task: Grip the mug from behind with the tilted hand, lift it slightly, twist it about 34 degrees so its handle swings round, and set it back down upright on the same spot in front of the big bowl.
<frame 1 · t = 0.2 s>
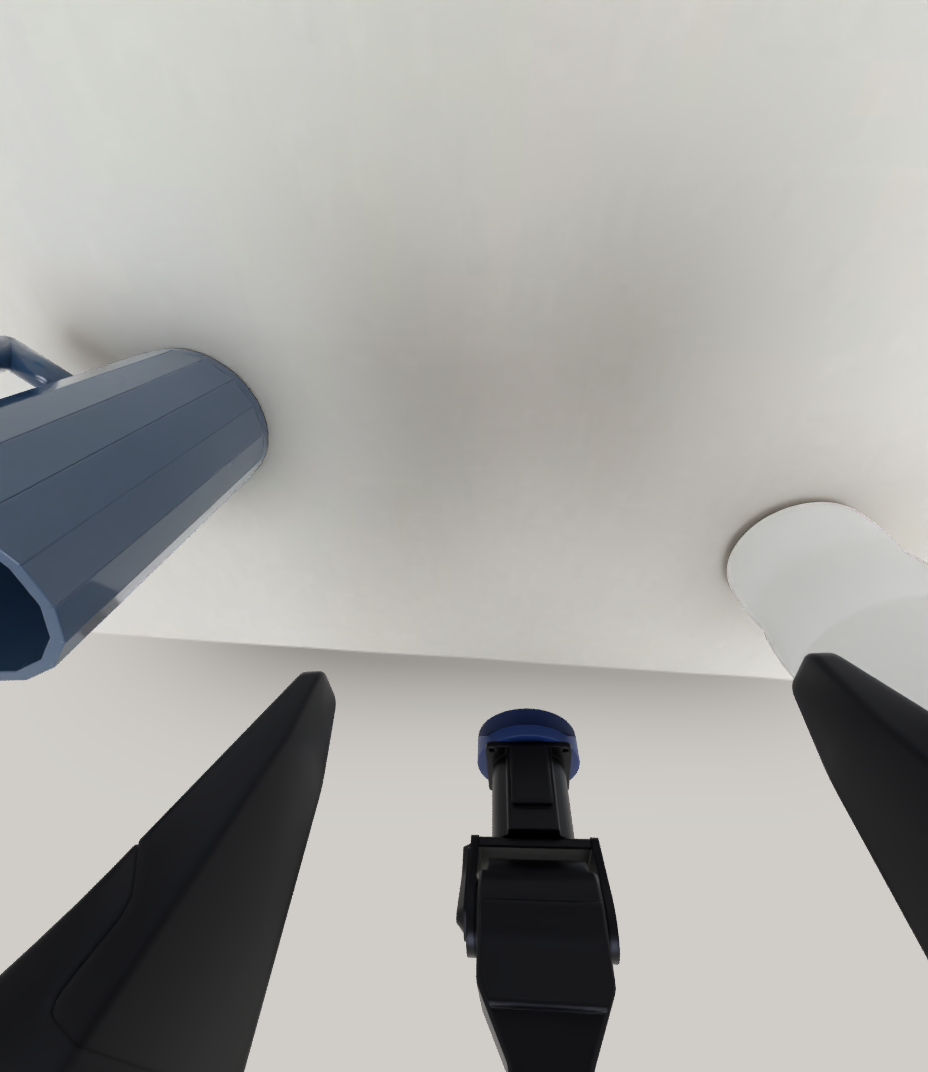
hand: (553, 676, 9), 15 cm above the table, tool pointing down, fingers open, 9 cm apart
mug: (199, 420, 22), on the table
water bottle: (788, 550, 25), on the table
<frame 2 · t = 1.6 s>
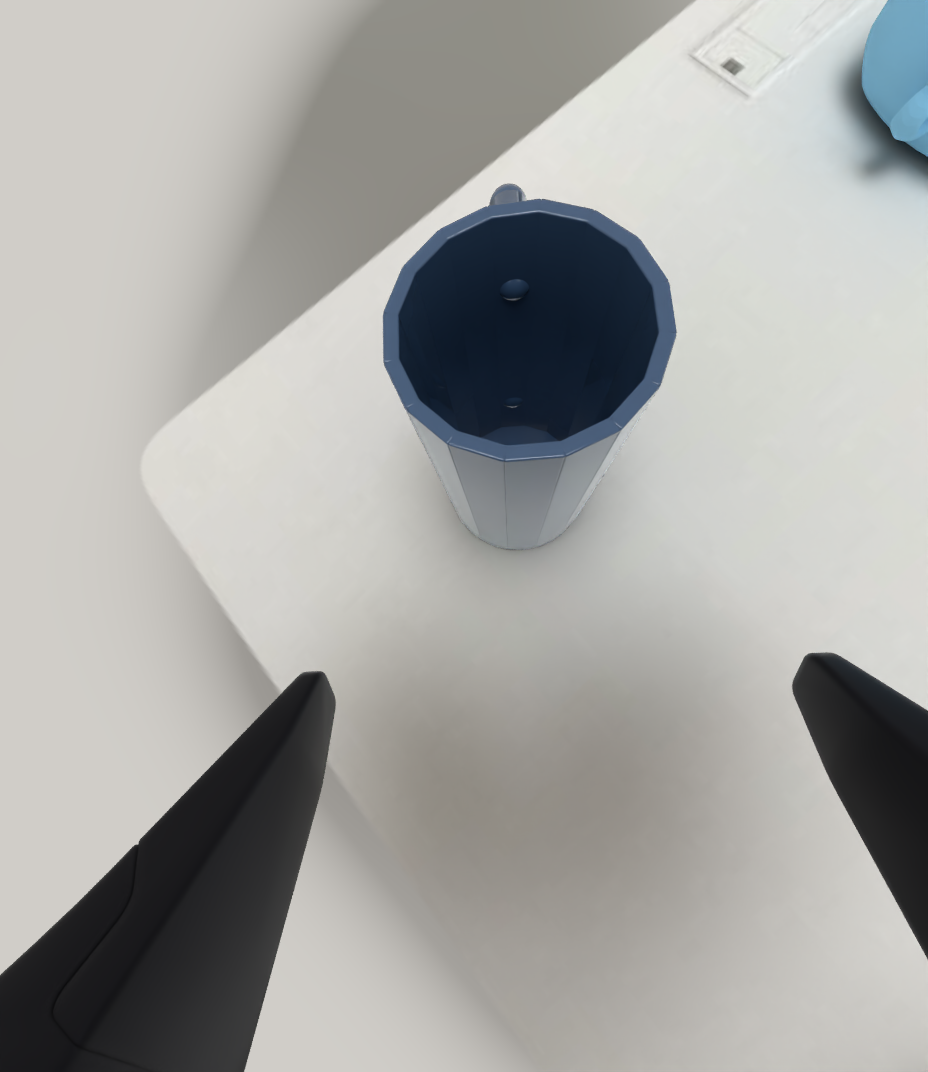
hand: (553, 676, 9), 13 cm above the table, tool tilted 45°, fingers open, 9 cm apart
mug: (516, 485, 23), on the table
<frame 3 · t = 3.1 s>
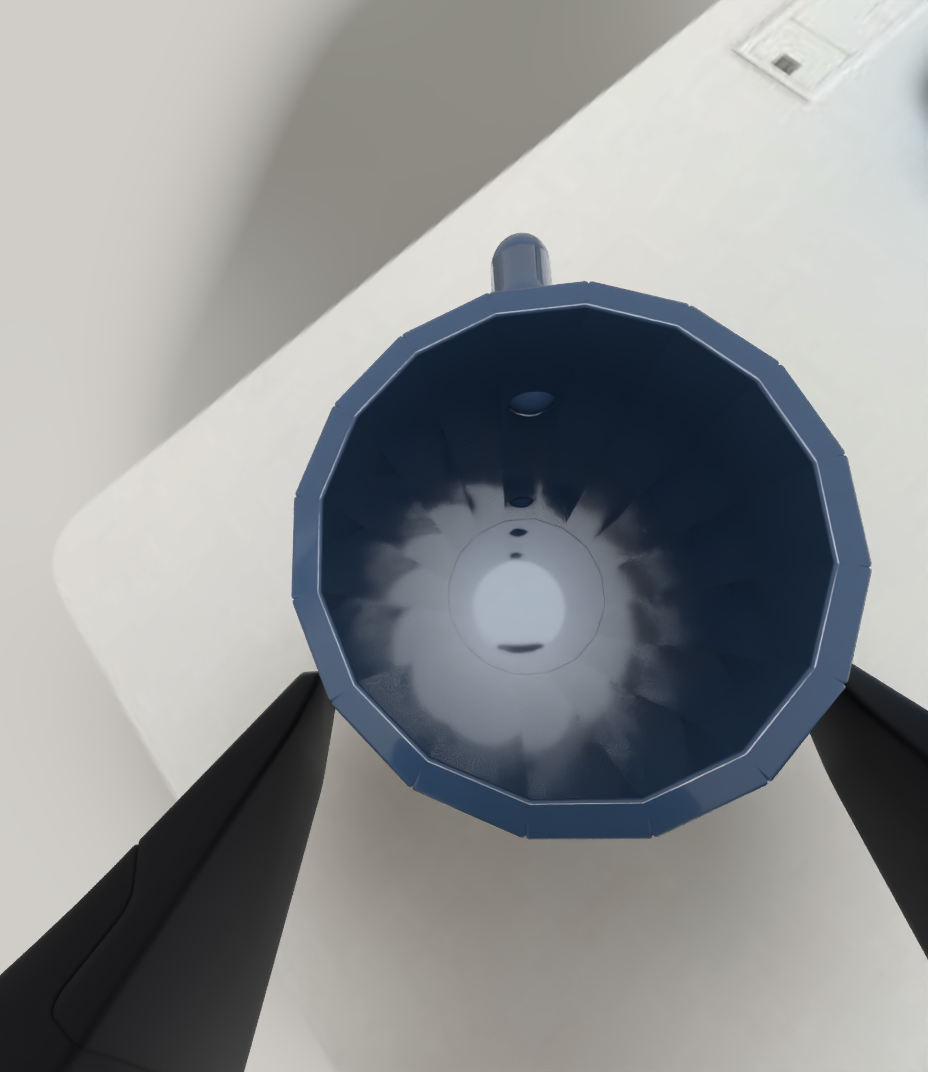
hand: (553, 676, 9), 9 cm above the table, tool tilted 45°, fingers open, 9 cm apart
mug: (524, 595, 18), on the table
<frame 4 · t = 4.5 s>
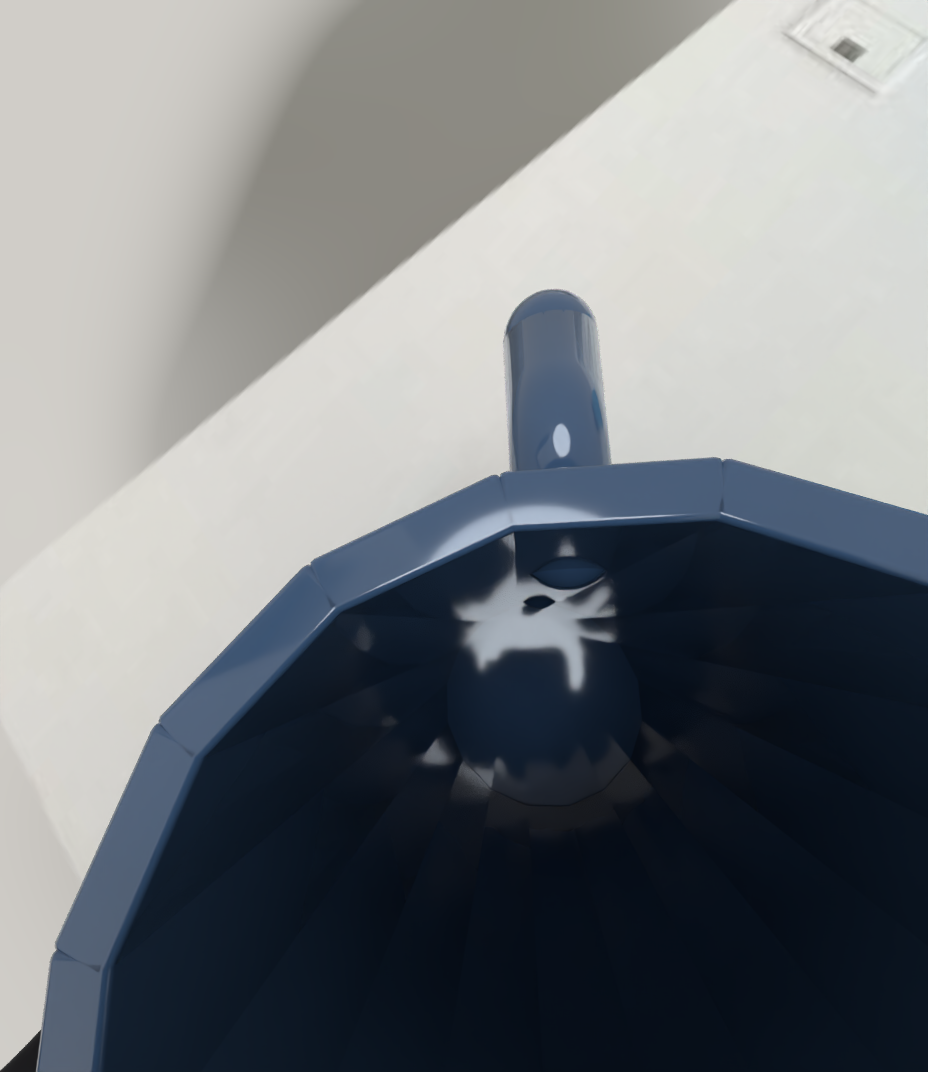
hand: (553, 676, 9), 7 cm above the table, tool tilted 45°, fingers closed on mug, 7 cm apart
mug: (540, 698, 15), on the table, touching gripper
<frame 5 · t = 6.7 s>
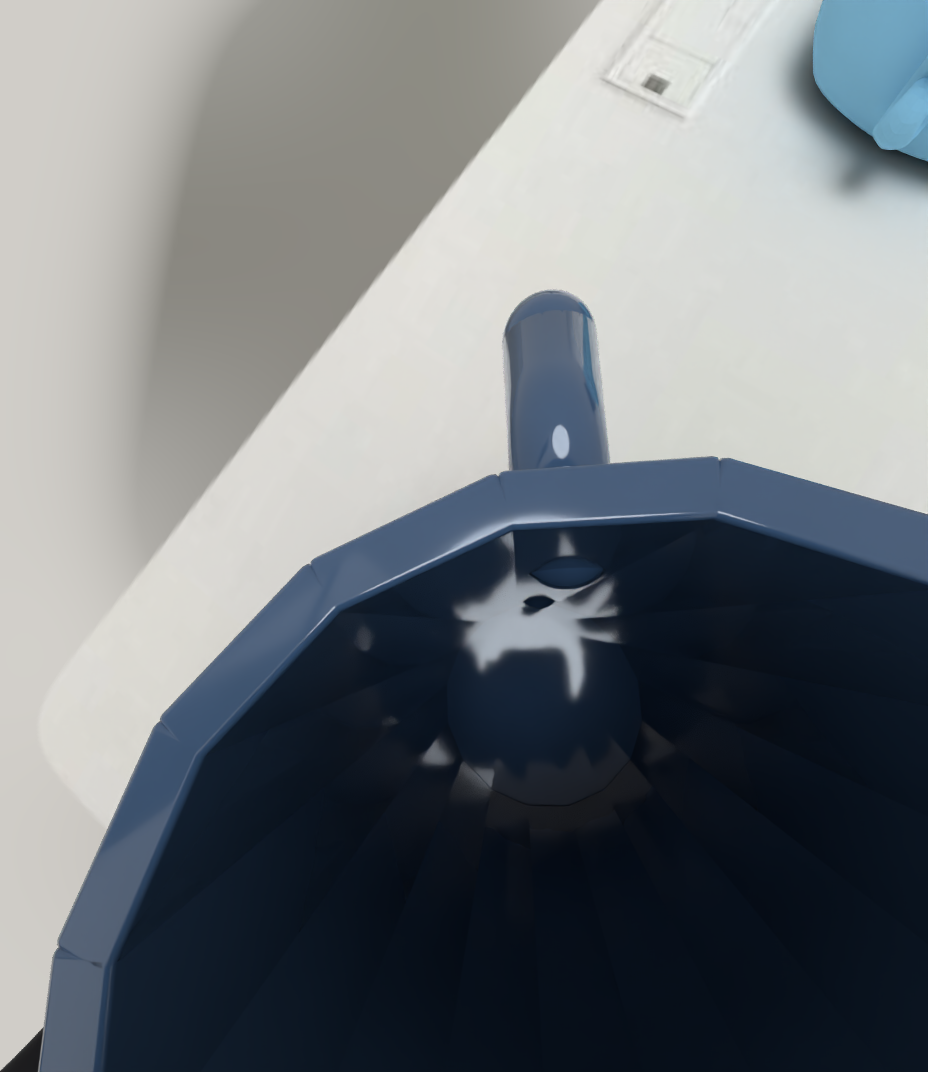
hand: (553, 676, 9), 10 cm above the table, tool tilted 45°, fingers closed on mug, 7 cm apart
mug: (540, 698, 15), point 3 cm above the table, touching gripper
when the fingers open (7 cm above the table, at t = 9.1 s): mug stays where it is, on the table.
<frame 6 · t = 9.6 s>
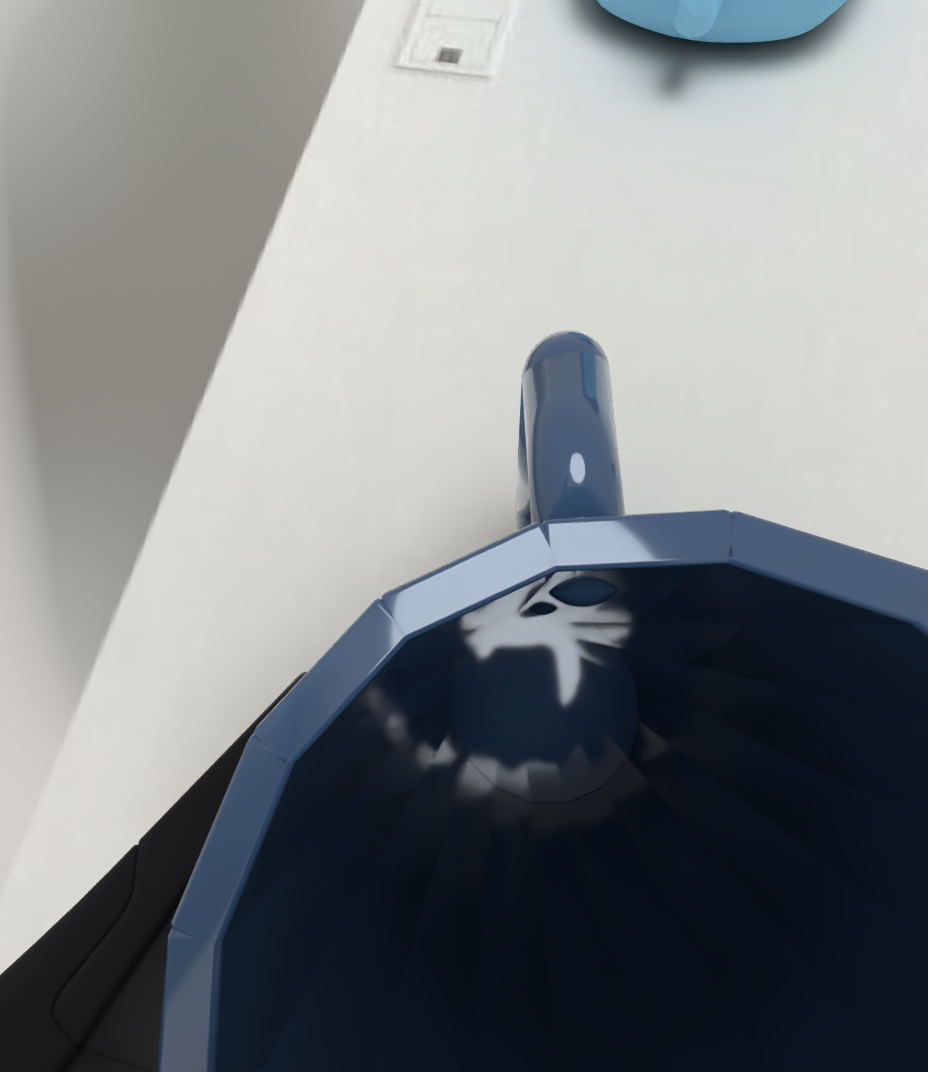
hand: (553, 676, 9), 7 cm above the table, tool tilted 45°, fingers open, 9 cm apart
mug: (541, 699, 15), on the table
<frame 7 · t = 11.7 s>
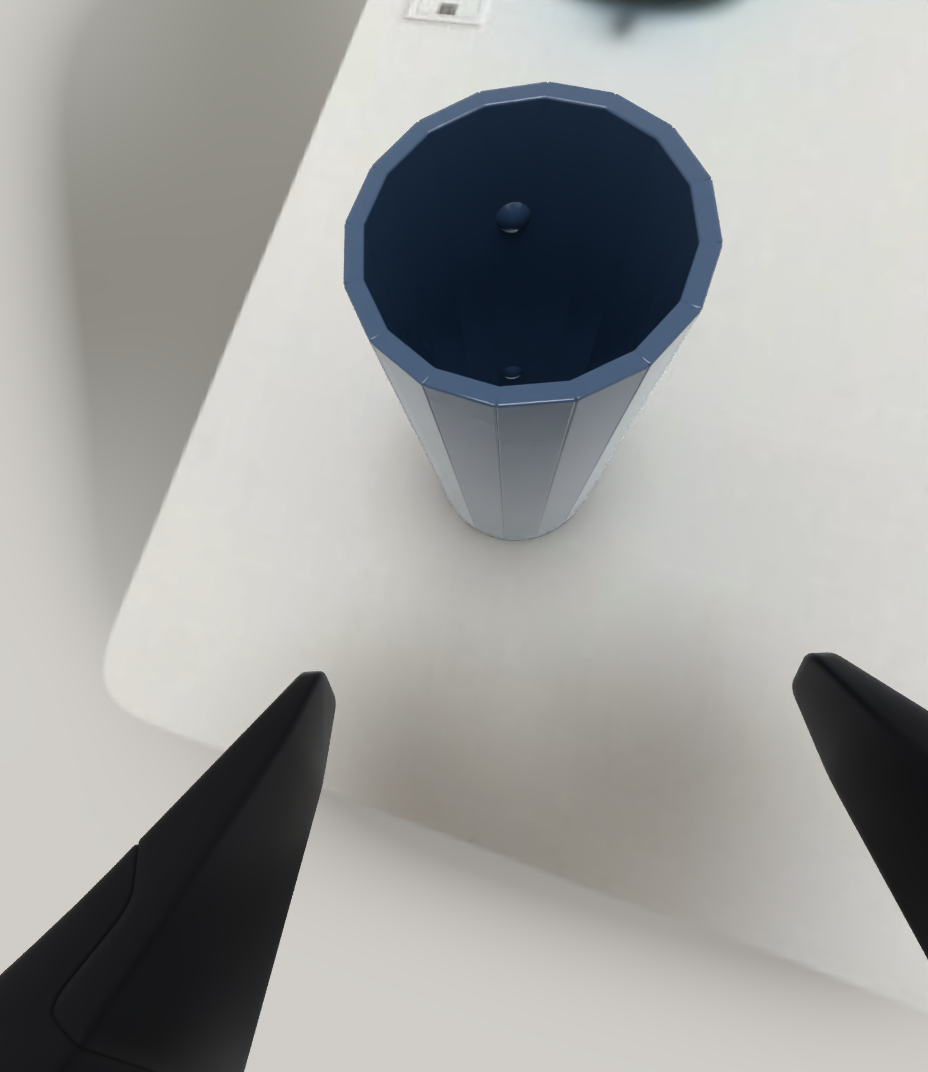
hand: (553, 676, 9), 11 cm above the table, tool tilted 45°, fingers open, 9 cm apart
mug: (515, 468, 21), on the table
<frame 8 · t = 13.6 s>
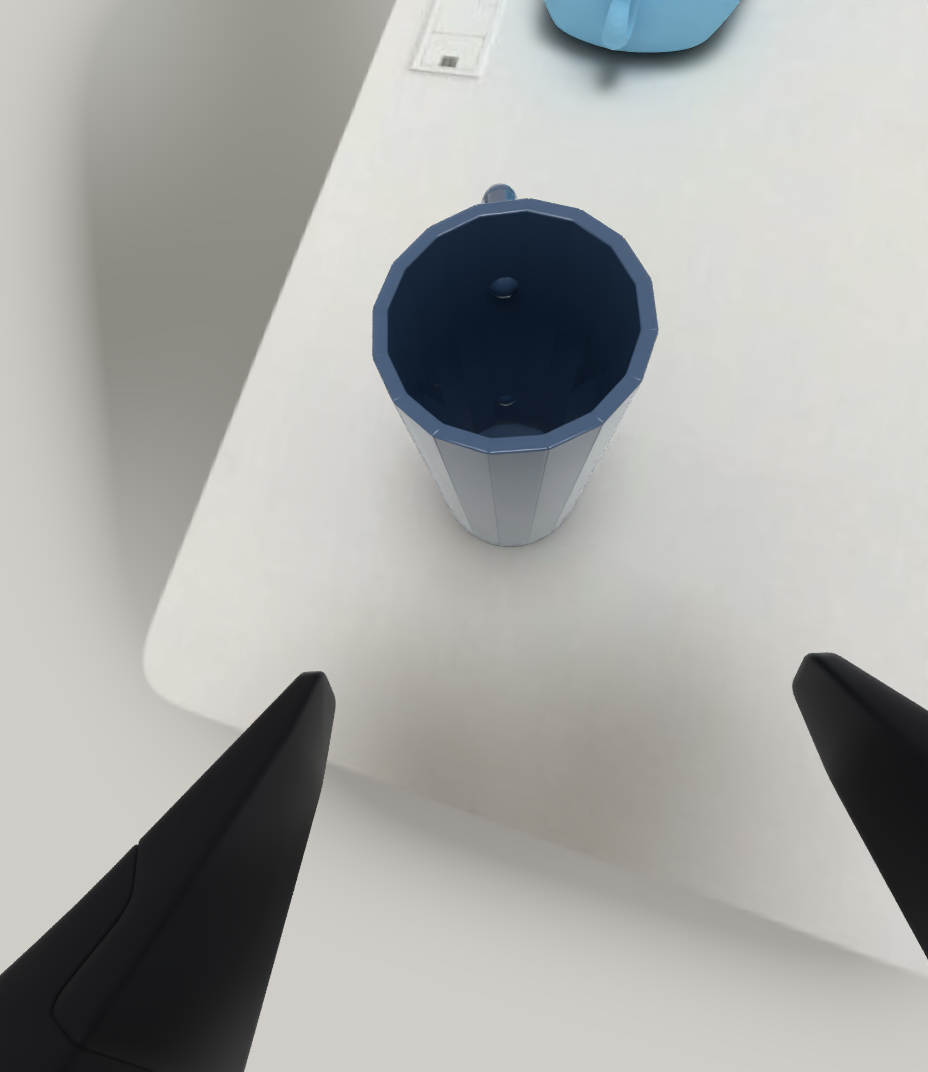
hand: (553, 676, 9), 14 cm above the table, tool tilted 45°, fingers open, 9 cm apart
mug: (509, 482, 23), on the table
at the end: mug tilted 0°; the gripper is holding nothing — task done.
